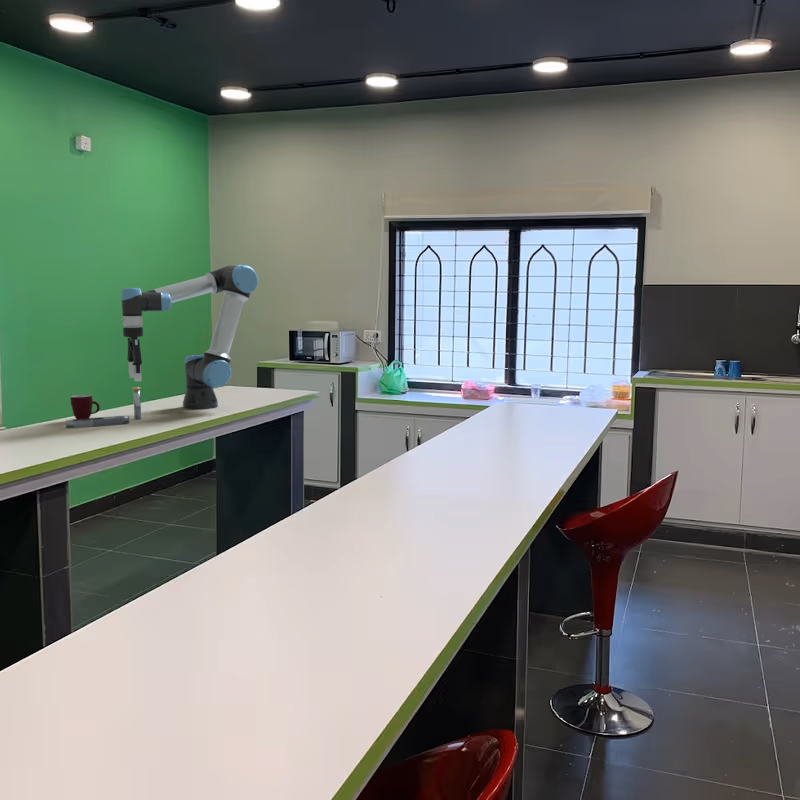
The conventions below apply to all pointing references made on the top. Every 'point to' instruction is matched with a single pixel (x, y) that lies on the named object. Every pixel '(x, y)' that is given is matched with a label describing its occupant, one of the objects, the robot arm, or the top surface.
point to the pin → (137, 402)
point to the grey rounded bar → (97, 421)
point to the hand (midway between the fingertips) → (135, 379)
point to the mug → (83, 406)
